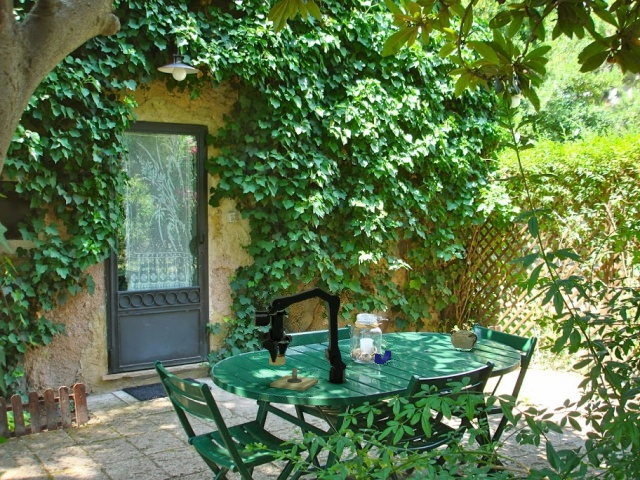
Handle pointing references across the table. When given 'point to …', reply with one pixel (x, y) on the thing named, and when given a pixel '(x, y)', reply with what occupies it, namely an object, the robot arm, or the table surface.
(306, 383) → the stand
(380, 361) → the cable clip
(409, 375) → the table surface
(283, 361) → the ring
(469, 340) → the sugar bowl
